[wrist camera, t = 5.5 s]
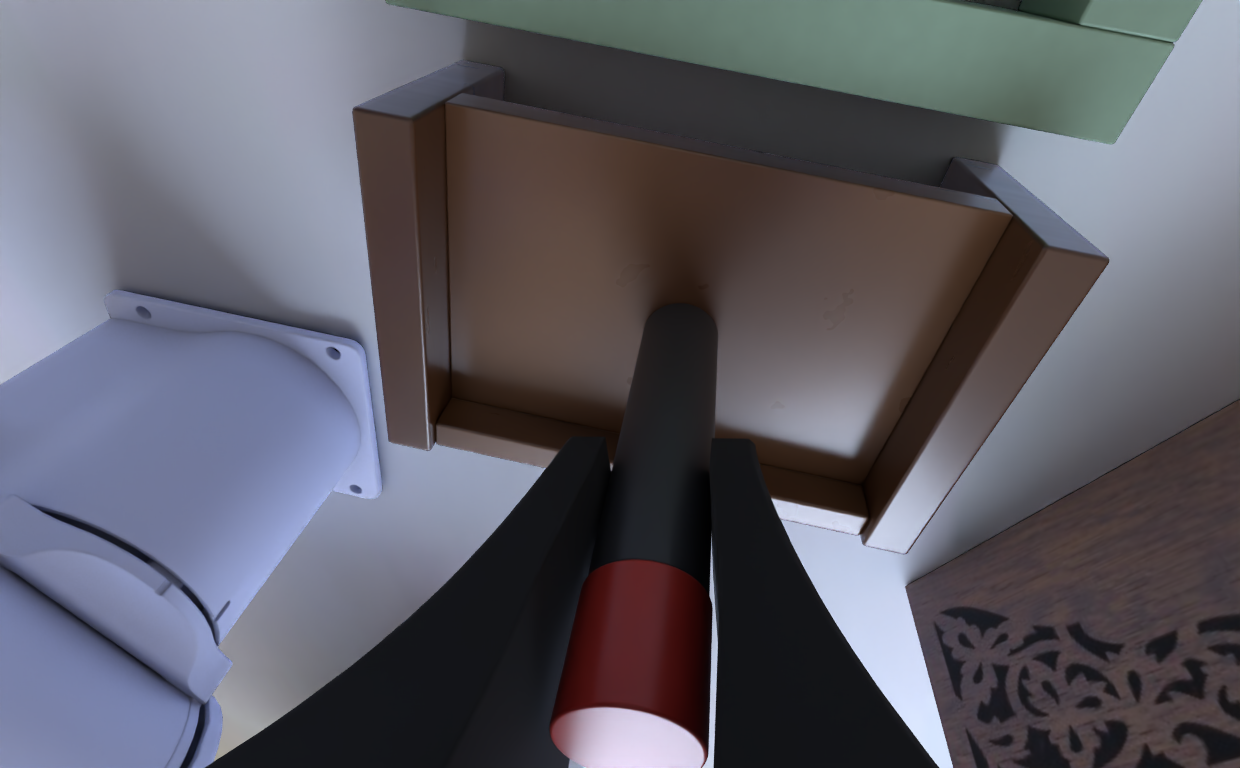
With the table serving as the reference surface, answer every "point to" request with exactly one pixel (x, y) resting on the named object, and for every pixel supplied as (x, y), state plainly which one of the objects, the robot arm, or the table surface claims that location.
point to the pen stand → (893, 48)
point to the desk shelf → (702, 295)
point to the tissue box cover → (1100, 621)
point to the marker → (650, 569)
